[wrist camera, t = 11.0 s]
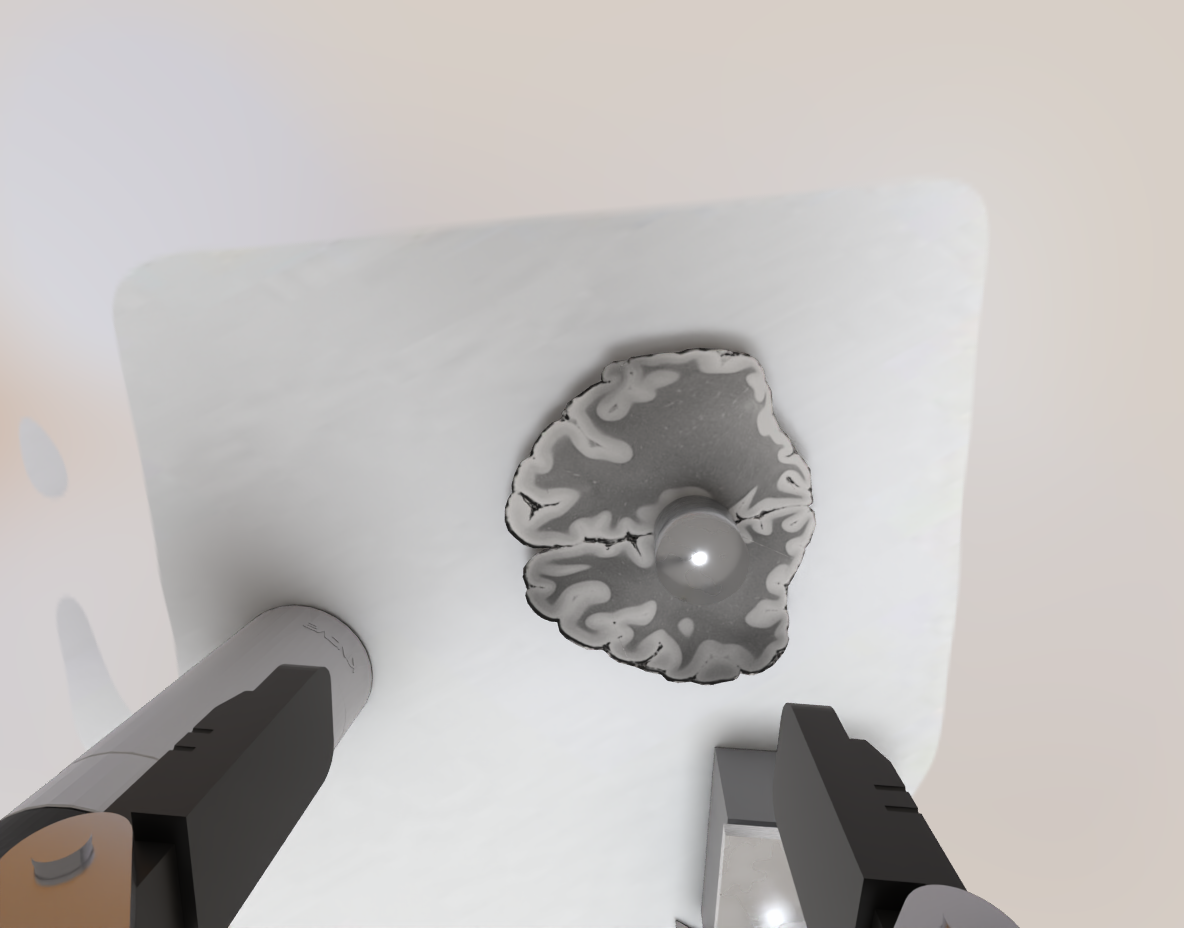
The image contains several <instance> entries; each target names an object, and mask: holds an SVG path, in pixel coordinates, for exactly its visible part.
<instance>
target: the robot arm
mask: <svg viewBox="0 0 1184 928" xmlns="http://www.w3.org/2000/svg"><path fill="white" fill-rule="evenodd" d="M371 684H372V672H371V664H370V661H369V658H368V655H367V652H366V650H365V649H364V647H363V645H362V643H361V642H360V640H359V639H358V637H357V636H356V635H355V634H354V633H353V632H352V631H351V629H350V628H349V627H347V626H346V625H345V624H344V623H342V622H341V621H340V620H338V619H337V618H335V617H333V616H331V615H330V614H328V613H326V612H324V611H321V610H317V609H314V608H311V607H305V606H296V605H293V606H283V607H278V608H275V609H272V610H268V611H266V612H264V613H263V614H261V615H259V616H258V617H256V618H255V619H253V620H252V621H251V622H250V623H248V624H247V625H246V626H245V627H243V628H242V629H241V630H240V631H238V632H237V633H236V634H234V635H233V636H232V637H231V638H229V639H228V640H227V641H226V642H224V643H223V644H222V645H221V646H219V647H218V648H216V649H215V650H214V651H213V652H211V653H210V654H209V655H208V656H206V657H205V658H204V659H202V660H201V661H200V662H199V663H197V664H196V665H195V666H194V667H192V668H191V669H190V670H189V671H187V672H186V673H185V674H184V675H182V676H181V677H180V678H179V679H177V680H176V681H175V682H173V683H172V684H171V685H170V686H168V687H167V688H166V689H165V690H163V691H162V692H161V693H160V694H158V695H157V696H156V697H155V698H153V699H152V700H151V701H150V702H148V703H147V704H146V705H144V706H143V707H142V708H141V709H139V710H138V711H137V712H136V713H134V714H133V715H132V716H131V717H129V718H128V719H127V720H126V721H124V722H123V723H122V724H121V725H119V726H118V727H117V728H115V729H114V730H113V731H112V732H110V733H109V734H108V735H107V736H105V737H104V738H103V739H102V740H100V741H99V742H98V743H97V744H95V745H94V746H93V747H92V748H90V749H89V750H88V751H87V752H85V753H84V754H83V755H81V756H80V757H79V758H78V759H76V760H75V761H74V762H73V763H71V764H70V765H69V766H68V767H66V768H65V769H64V770H63V771H61V772H60V773H59V774H58V775H57V776H56V777H55V778H53V779H52V780H51V781H49V782H48V783H47V784H45V785H44V786H43V787H42V788H40V789H39V790H38V791H37V792H35V793H34V794H33V795H32V796H30V797H29V798H28V799H26V800H25V801H24V802H23V803H21V804H20V805H19V806H18V807H16V808H15V809H14V810H13V811H11V812H10V813H9V814H8V815H6V816H5V817H4V818H2V819H1V820H0V928H228V926H229V925H230V923H231V922H232V920H233V919H234V917H235V916H236V914H237V913H238V911H239V910H240V908H241V907H242V905H243V904H244V902H245V901H246V899H247V898H248V896H249V895H250V893H251V892H252V890H253V889H254V887H255V886H256V884H257V882H258V881H259V879H260V878H261V876H262V875H263V873H264V872H265V870H266V869H267V867H268V866H269V864H270V863H271V861H272V860H273V858H274V857H275V855H276V854H277V852H278V851H279V849H280V848H281V846H282V845H283V843H284V842H285V840H286V839H287V837H288V836H289V834H290V833H291V831H292V829H293V828H294V826H295V825H296V823H297V822H298V820H299V819H300V817H301V816H302V814H303V813H304V811H305V810H306V808H307V807H308V805H309V804H310V802H311V801H312V799H313V798H314V796H315V795H316V793H317V792H318V790H319V789H320V787H321V786H322V784H323V782H324V781H325V779H326V777H327V774H328V772H329V769H330V765H331V762H332V757H333V751H334V749H335V747H336V746H337V745H338V743H339V742H340V740H341V739H342V737H343V736H344V734H345V733H346V732H347V730H348V729H349V727H350V726H351V724H352V723H353V721H354V720H355V718H356V717H357V716H358V714H359V713H360V711H361V710H362V708H363V707H364V705H365V704H366V702H367V699H368V697H369V694H370V692H371ZM773 807H774V814H775V820H776V824H777V827H778V831H779V834H780V837H781V841H782V844H783V848H784V851H785V854H786V858H787V861H788V865H789V868H790V871H791V875H792V878H793V882H794V885H795V888H796V892H797V895H798V899H799V902H800V905H801V909H802V912H803V916H804V919H805V922H806V926H807V928H1019V927H1018V926H1017V925H1016V924H1015V922H1014V921H1013V920H1011V919H1010V918H1009V917H1008V916H1007V915H1006V914H1004V913H1003V912H1002V911H1001V910H999V909H998V908H996V907H995V906H994V905H992V904H991V903H989V902H987V901H986V900H984V899H982V898H980V897H978V896H976V895H974V894H972V893H970V892H967V890H966V888H965V887H964V885H963V883H962V882H961V880H960V879H959V877H958V875H957V873H956V872H955V870H954V868H953V866H952V865H951V863H950V862H949V860H948V858H947V856H946V855H945V853H944V851H943V850H942V848H941V847H940V845H939V843H938V841H937V839H936V838H935V836H934V834H933V833H932V831H931V829H930V828H929V826H928V824H927V823H926V821H925V819H924V818H923V816H922V814H920V813H918V808H917V806H916V804H915V802H914V801H913V799H912V797H911V796H910V794H909V792H906V790H905V786H904V784H903V782H902V780H901V779H900V777H899V775H898V774H897V772H896V770H895V769H894V767H893V765H892V764H891V762H890V761H889V760H888V759H887V758H885V757H884V756H883V755H882V754H881V753H880V752H879V751H877V750H876V749H875V748H874V747H873V746H872V745H871V744H869V743H868V742H867V741H866V740H860V739H849V737H848V735H847V733H846V732H845V730H844V728H843V726H842V724H841V722H840V720H839V718H838V716H837V714H836V713H835V711H834V709H833V708H832V707H830V706H822V705H809V704H795V703H786V704H785V705H784V707H783V711H782V716H781V723H780V731H779V738H778V746H777V754H776V762H775V769H774V777H773Z"/></svg>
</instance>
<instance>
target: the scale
mask: <svg viewBox="0 0 1184 928" xmlns="http://www.w3.org/2000/svg"><path fill="white" fill-rule="evenodd" d="M776 754H777V752H775V751H760V750H746V749H732V748H717V747H715V752H714V763H713V775H712V787H711V799H710V811H709V823H708V835H707V847H706V859H705V871H704V883H703V894H702V906H701V914H702V924H703V928H714V923H715V912H716V901H717V890H718V879H719V868H720V856H721V845H722V834H723V824H735V825H748V826H761V827H774V828H778V827H777V824H776V820H775V814H774V807H773V777H774V769H775V762H776Z"/></svg>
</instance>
